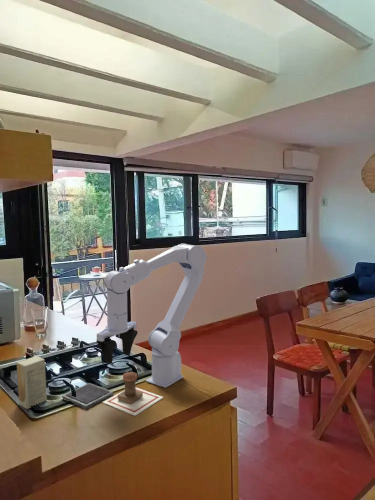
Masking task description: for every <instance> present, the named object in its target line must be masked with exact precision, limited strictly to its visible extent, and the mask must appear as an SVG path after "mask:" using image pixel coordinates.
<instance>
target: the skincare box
mask: <svg viewBox="0 0 375 500" xmlns="http://www.w3.org/2000/svg"><path fill="white" fill-rule="evenodd" d="M16 372H17V374H16V376H17V391H18V404H19V405H20V406H21V407H22V408H24V409H25V410H28V409H30V408H32V407H31V406H33V405H35V406H37V405H39V403H40V404H42V403H44V402H47V400H48V398H47V397H48V395H47V381H46V380H47V378H46V377H47V376H46V362H45V359H44V358H42V357H40V356H39V355H35V356H32V357H29V358H26V359H22V360H20V361H17V362H16ZM36 404H37V405H36ZM33 407H34V406H33Z"/></svg>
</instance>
